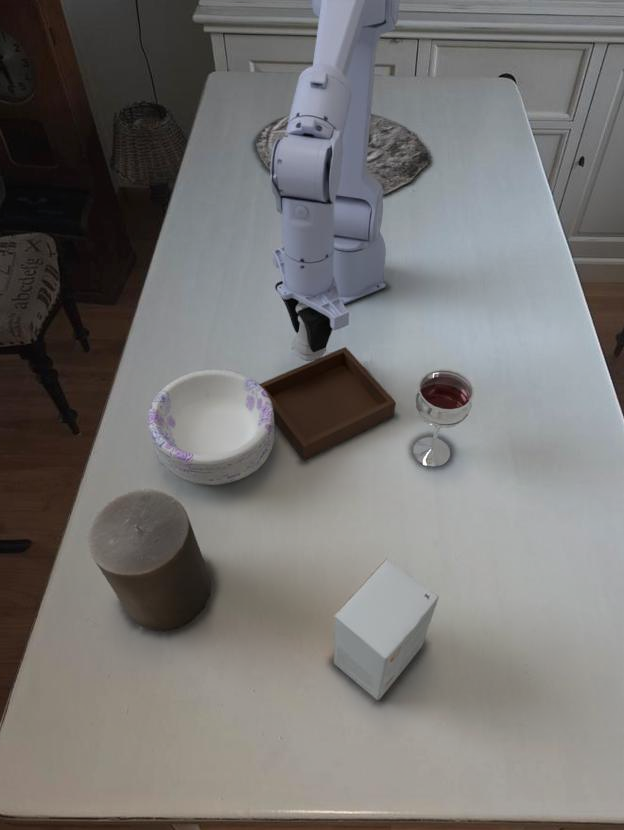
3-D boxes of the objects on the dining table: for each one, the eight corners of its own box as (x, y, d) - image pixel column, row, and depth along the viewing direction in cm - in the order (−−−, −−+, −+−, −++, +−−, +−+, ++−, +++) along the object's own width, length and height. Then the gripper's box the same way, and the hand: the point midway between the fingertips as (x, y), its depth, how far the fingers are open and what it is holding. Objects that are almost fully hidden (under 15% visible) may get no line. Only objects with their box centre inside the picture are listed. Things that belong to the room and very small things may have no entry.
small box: (378, 610, 71) (387, 555, 60) (423, 645, 69) (441, 595, 58) (331, 663, 67) (332, 615, 57) (377, 703, 65) (387, 660, 54)
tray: (344, 361, 93) (345, 346, 91) (394, 416, 88) (396, 402, 85) (258, 400, 88) (256, 385, 86) (304, 460, 83) (303, 446, 80)
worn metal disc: (320, 95, 141) (320, 93, 140) (455, 146, 130) (455, 144, 129) (219, 156, 125) (218, 154, 124) (363, 220, 114) (363, 218, 114)
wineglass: (397, 440, 85) (407, 377, 75) (442, 426, 87) (457, 363, 77) (420, 478, 82) (434, 417, 72) (466, 462, 83) (485, 401, 73)
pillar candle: (217, 618, 70) (195, 554, 57) (127, 642, 68) (84, 580, 56) (203, 544, 75) (180, 471, 63) (119, 564, 73) (78, 492, 61)
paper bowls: (300, 453, 83) (298, 413, 77) (208, 520, 77) (197, 483, 70) (228, 391, 89) (221, 349, 83) (137, 448, 83) (121, 408, 76)
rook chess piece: (322, 365, 82) (322, 317, 76) (289, 359, 83) (286, 311, 76) (329, 342, 85) (330, 293, 78) (297, 336, 85) (295, 288, 79)
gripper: (246, 225, 73) (257, 317, 84) (311, 295, 66) (312, 385, 77) (299, 208, 75) (302, 300, 87) (366, 273, 69) (360, 364, 80)
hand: (310, 339), depth 82 cm, fingers closed on rook chess piece, 3 cm apart
